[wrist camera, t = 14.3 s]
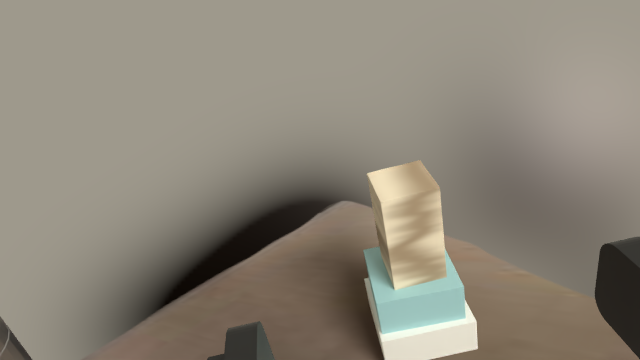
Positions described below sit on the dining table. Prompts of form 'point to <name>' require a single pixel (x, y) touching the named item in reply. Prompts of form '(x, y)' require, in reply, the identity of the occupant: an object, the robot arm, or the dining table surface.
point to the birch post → (408, 223)
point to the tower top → (414, 297)
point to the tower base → (426, 337)
